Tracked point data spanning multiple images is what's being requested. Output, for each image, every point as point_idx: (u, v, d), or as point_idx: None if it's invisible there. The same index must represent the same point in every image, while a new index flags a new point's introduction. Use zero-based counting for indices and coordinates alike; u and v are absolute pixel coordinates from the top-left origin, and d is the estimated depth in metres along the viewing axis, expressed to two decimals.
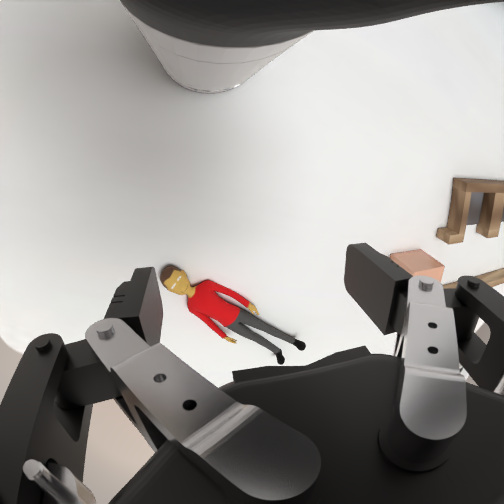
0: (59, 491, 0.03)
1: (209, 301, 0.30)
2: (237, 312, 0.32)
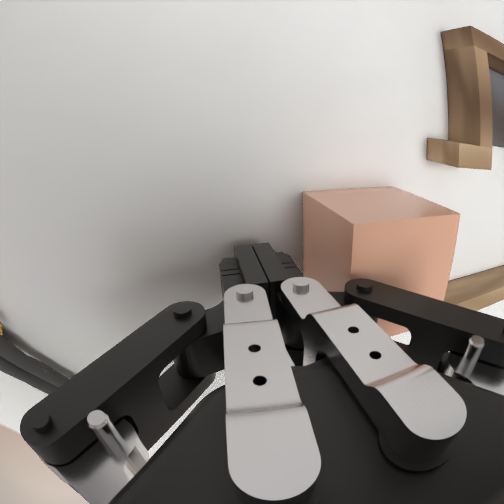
0: (113, 447, 0.05)
1: None
2: None
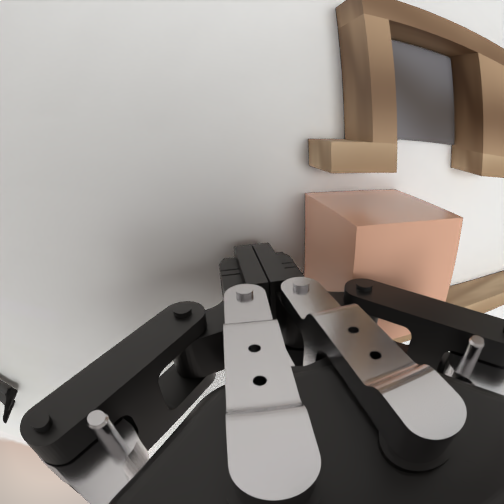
0: (113, 447, 0.05)
1: None
2: None
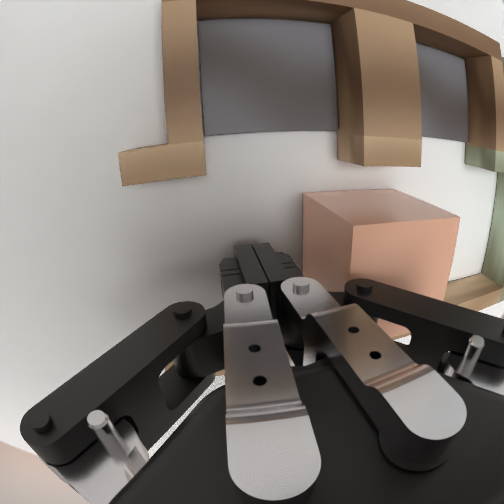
0: (113, 447, 0.05)
1: None
2: None
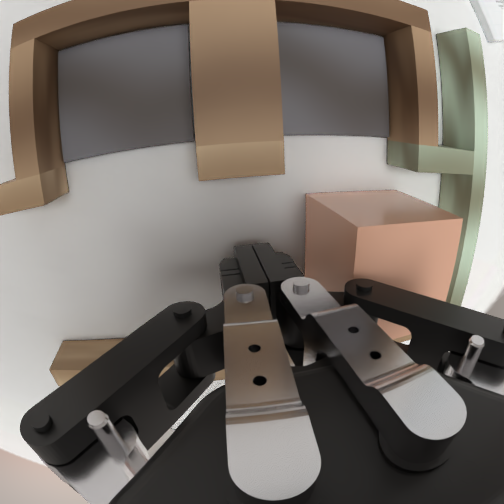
0: (113, 447, 0.05)
1: None
2: None
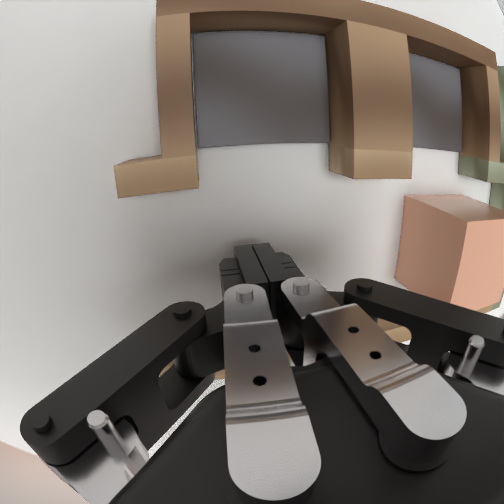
0: (113, 447, 0.05)
1: None
2: None
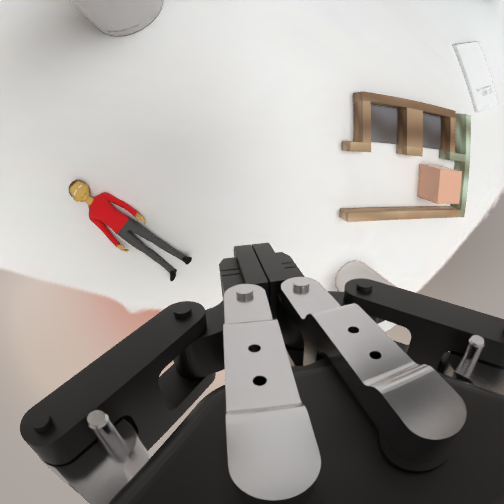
0: (113, 447, 0.05)
1: (102, 207, 0.33)
2: (126, 219, 0.35)
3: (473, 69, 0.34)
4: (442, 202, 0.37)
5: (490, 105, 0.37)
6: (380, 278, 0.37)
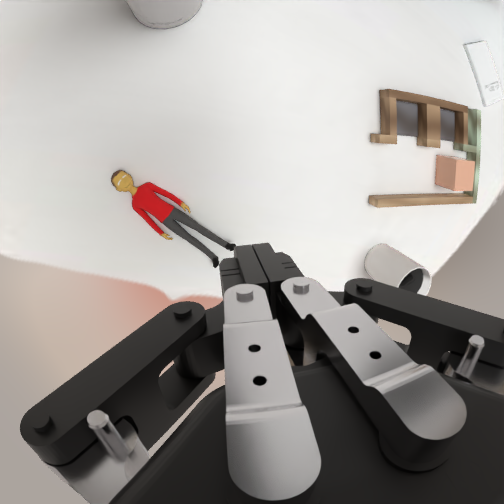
0: (113, 447, 0.05)
1: (147, 196, 0.36)
2: (171, 208, 0.37)
3: (481, 67, 0.36)
4: (458, 189, 0.39)
5: (497, 100, 0.39)
6: (407, 258, 0.40)
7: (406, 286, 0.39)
